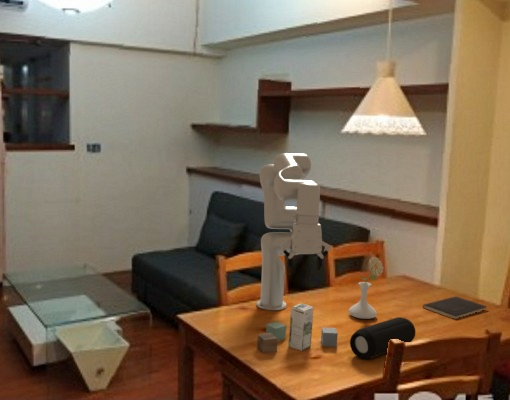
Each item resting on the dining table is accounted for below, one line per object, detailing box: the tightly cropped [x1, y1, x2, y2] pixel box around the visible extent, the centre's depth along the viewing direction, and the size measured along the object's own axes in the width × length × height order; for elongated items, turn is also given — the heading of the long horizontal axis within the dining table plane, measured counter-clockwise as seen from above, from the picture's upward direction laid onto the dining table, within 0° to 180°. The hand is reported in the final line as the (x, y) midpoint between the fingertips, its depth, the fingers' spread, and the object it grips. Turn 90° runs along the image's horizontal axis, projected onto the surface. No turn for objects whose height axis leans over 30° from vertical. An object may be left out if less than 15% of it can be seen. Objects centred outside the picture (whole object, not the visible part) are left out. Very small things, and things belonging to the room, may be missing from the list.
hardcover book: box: [422, 296, 488, 320], centre depth 231 cm, size 16×23×2 cm
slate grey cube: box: [320, 327, 339, 348], centre depth 188 cm, size 5×5×5 cm
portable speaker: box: [349, 316, 417, 360], centre depth 183 cm, size 26×10×10 cm, turn 128°
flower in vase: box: [348, 256, 384, 320], centre depth 215 cm, size 13×11×25 cm
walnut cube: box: [256, 332, 278, 355], centre depth 180 cm, size 5×5×5 cm
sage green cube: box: [265, 321, 287, 342], centre depth 190 cm, size 5×5×5 cm
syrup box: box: [288, 303, 314, 351], centre depth 183 cm, size 6×6×14 cm
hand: (304, 269), depth 180 cm, fingers open, 9 cm apart
